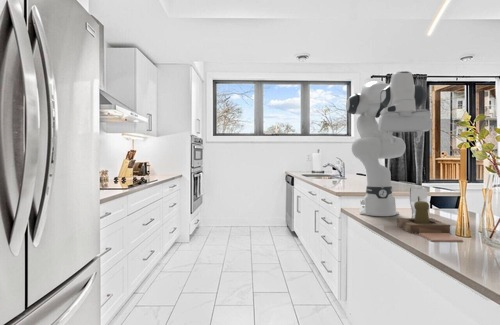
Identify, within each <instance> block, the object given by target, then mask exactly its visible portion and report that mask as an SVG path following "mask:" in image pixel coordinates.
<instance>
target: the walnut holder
mask: <svg viewBox="0 0 500 325" xmlns="http://www.w3.org/2000/svg"><path fill="white" fill-rule="evenodd" d="M414 220H415V218H412V217H410V218H409V217H407V218H405V217H404V218H400V217H398V218H396V226H398V227H399V228H400V229H402V228H403V230H404V231H406V232H408V233H409V232H410V233H409V234H419V233H449V234H451V225H450V224H448V223H445V222H442V221H440V220H437V219H435V218H433V217H429V222H430V224H415V223H414Z"/></svg>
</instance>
